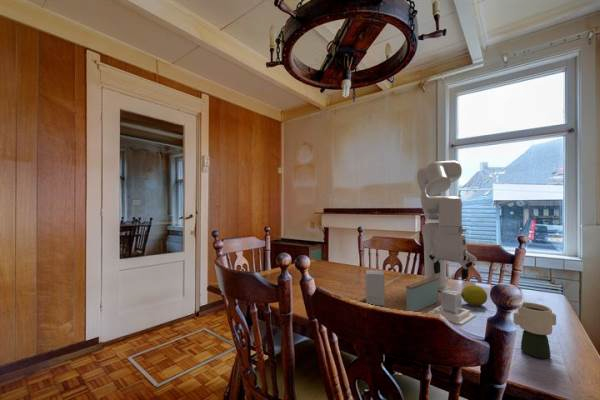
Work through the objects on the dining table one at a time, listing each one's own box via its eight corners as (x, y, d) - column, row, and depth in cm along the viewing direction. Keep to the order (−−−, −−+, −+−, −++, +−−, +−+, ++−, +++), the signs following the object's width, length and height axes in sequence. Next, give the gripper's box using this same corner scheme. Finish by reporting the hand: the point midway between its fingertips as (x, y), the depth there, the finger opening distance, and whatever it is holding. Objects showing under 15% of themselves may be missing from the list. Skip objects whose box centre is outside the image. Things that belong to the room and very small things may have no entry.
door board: (432, 300, 117) (432, 277, 117) (438, 301, 115) (437, 278, 115) (406, 311, 105) (406, 286, 105) (411, 313, 103) (411, 287, 103)
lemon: (479, 301, 115) (479, 282, 115) (493, 308, 107) (493, 288, 107) (454, 302, 114) (454, 283, 114) (467, 309, 106) (466, 288, 107)
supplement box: (385, 305, 111) (384, 274, 111) (366, 304, 112) (365, 273, 113) (383, 299, 118) (382, 270, 118) (365, 298, 120) (365, 269, 120)
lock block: (447, 310, 105) (447, 289, 105) (461, 314, 101) (461, 292, 101) (441, 313, 102) (440, 291, 102) (455, 317, 98) (455, 295, 98)
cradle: (442, 306, 110) (442, 301, 110) (476, 316, 100) (476, 310, 100) (427, 314, 102) (427, 308, 102) (461, 325, 93) (461, 319, 93)
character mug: (545, 347, 78) (544, 302, 78) (568, 362, 71) (567, 311, 71) (505, 346, 79) (504, 301, 79) (524, 361, 72) (523, 311, 72)
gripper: (480, 231, 97) (480, 279, 98) (432, 227, 111) (432, 269, 111) (471, 233, 93) (471, 284, 93) (422, 229, 106) (422, 272, 107)
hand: (450, 275), depth 102 cm, fingers open, 9 cm apart
